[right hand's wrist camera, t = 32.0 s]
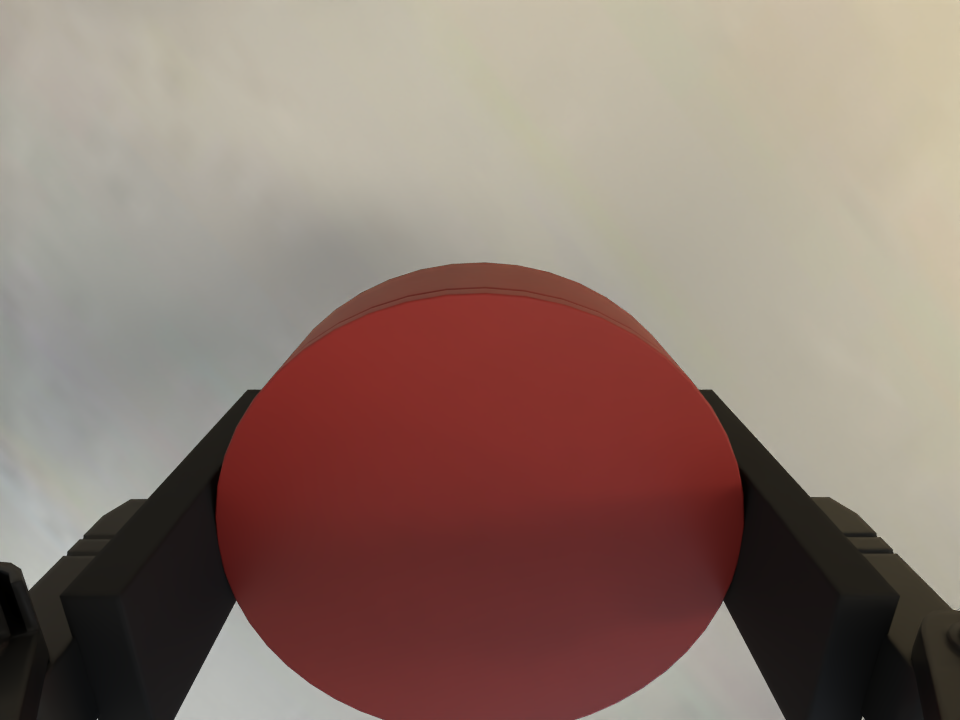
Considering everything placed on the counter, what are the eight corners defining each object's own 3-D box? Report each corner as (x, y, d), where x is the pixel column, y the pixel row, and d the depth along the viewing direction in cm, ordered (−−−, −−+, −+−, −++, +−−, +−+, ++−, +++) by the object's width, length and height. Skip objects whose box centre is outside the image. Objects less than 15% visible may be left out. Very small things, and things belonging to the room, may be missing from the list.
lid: (575, 687, 15) (592, 785, 12) (211, 567, 13) (159, 652, 11) (785, 373, 12) (855, 427, 10) (345, 179, 10) (309, 191, 8)
